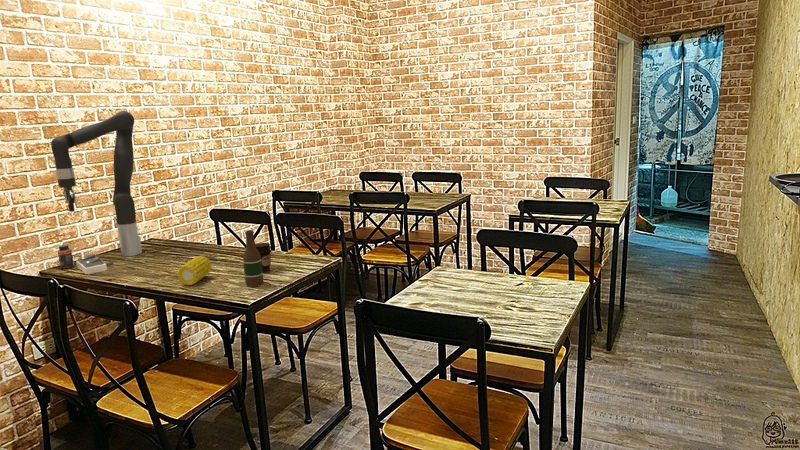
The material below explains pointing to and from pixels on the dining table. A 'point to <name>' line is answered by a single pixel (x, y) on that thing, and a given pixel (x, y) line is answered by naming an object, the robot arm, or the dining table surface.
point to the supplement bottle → (65, 257)
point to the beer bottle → (252, 262)
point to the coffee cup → (264, 255)
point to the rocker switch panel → (92, 266)
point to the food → (194, 270)
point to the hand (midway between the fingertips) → (72, 211)
